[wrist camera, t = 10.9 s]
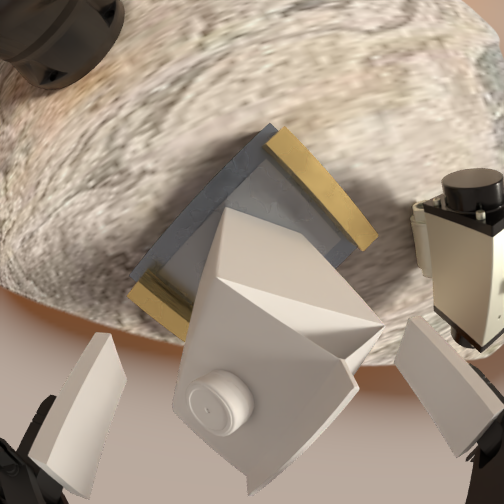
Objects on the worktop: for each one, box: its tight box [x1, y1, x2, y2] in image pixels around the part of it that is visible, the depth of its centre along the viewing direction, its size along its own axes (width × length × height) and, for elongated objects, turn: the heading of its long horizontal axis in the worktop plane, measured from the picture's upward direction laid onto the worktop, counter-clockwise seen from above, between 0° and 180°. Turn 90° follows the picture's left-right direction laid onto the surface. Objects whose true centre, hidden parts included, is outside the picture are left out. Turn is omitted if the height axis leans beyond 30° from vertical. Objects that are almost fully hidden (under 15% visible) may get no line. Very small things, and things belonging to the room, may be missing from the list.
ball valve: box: [410, 168, 504, 353], centre depth 22 cm, size 18×8×18 cm, turn 22°
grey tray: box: [127, 123, 379, 342], centre depth 26 cm, size 18×19×8 cm
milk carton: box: [172, 207, 386, 496], centre depth 15 cm, size 7×7×19 cm
